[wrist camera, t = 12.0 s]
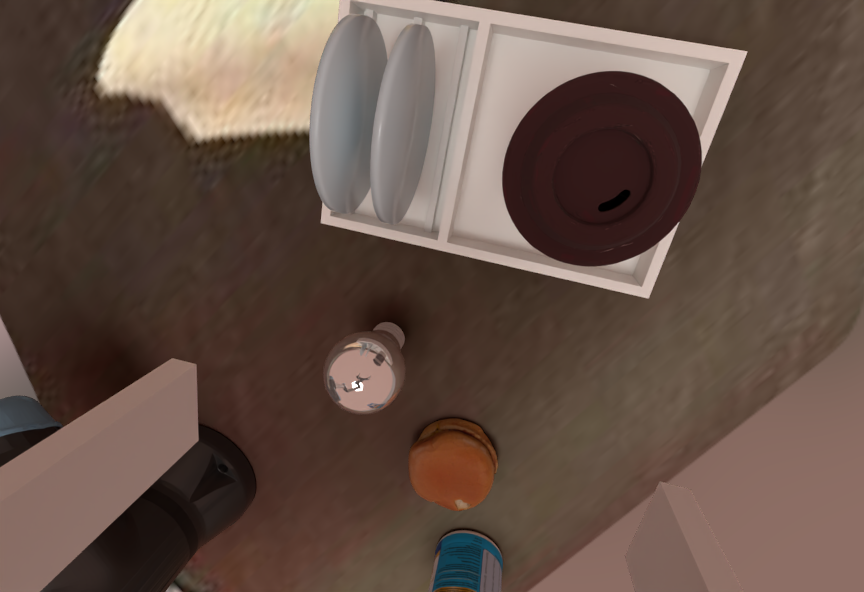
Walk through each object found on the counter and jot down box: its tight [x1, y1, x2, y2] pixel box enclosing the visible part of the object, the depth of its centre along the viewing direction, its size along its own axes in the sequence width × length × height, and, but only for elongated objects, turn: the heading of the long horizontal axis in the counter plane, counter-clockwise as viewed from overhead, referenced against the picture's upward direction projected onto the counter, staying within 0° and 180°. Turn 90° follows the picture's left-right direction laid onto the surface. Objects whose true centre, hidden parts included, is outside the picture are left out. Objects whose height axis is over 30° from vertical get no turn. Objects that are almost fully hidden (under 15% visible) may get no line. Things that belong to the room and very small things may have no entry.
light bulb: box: [323, 322, 406, 415], centre depth 39 cm, size 7×7×12 cm
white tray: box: [321, 0, 747, 299], centre depth 35 cm, size 28×18×4 cm, turn 80°
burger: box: [409, 418, 498, 511], centre depth 46 cm, size 10×9×5 cm
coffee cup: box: [502, 71, 702, 267], centre depth 28 cm, size 10×10×15 cm
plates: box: [310, 14, 436, 225], centre depth 30 cm, size 4×13×13 cm, turn 169°
